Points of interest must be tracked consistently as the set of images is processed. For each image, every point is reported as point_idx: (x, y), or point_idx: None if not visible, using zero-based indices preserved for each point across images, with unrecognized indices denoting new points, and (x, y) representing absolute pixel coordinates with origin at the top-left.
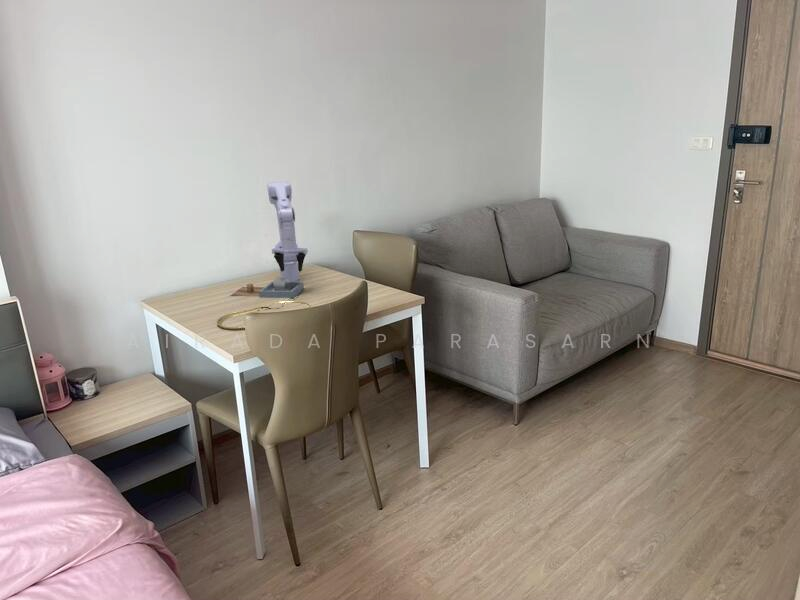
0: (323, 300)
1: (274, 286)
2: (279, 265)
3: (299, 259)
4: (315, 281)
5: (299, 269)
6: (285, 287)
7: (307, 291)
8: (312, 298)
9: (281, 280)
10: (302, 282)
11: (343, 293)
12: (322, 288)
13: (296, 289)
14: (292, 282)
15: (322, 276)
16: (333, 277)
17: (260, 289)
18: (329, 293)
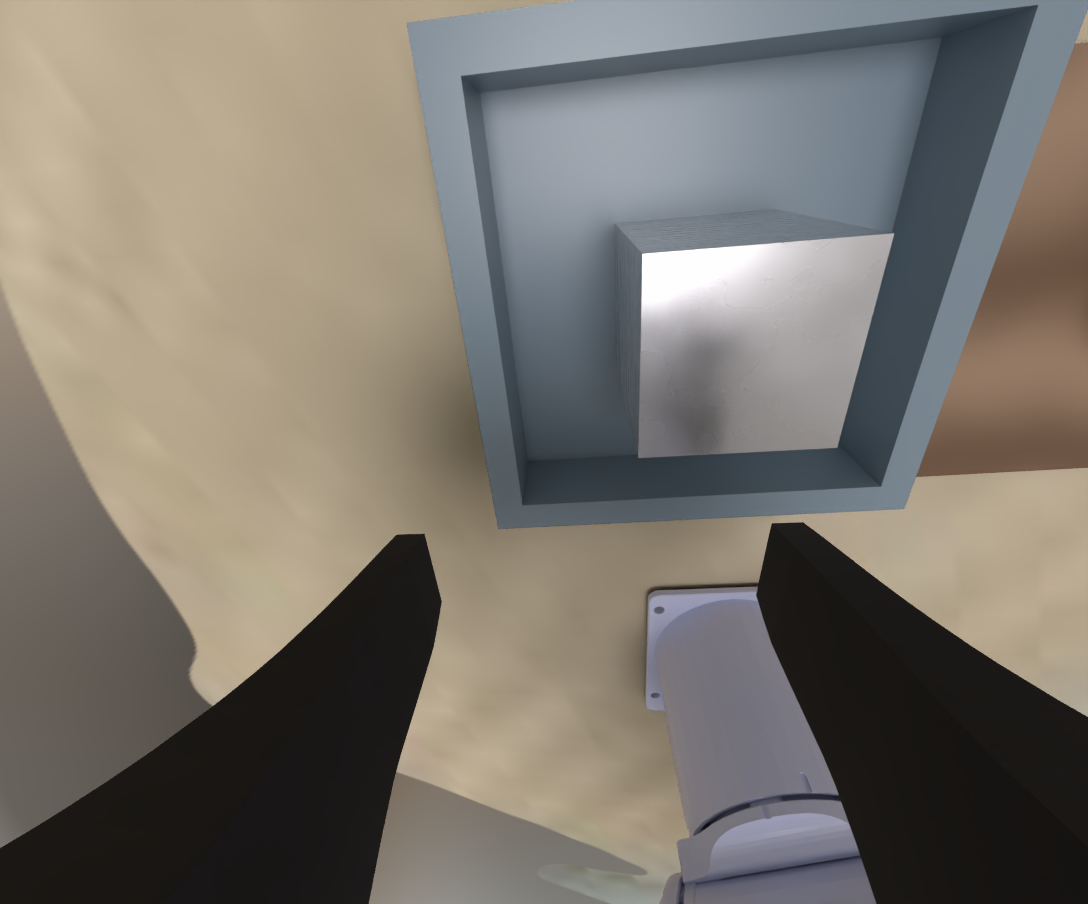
0: (37, 114)
1: (818, 223)
2: (905, 609)
3: (156, 794)
4: (524, 674)
5: (386, 556)
6: (626, 258)
7: (453, 443)
8: (238, 190)
9: (715, 286)
10: (501, 517)
11: (61, 417)
12: (364, 534)
13: (454, 262)
14: (622, 508)
15: (527, 753)
16: (439, 741)
17: (1004, 393)
18: (192, 403)
